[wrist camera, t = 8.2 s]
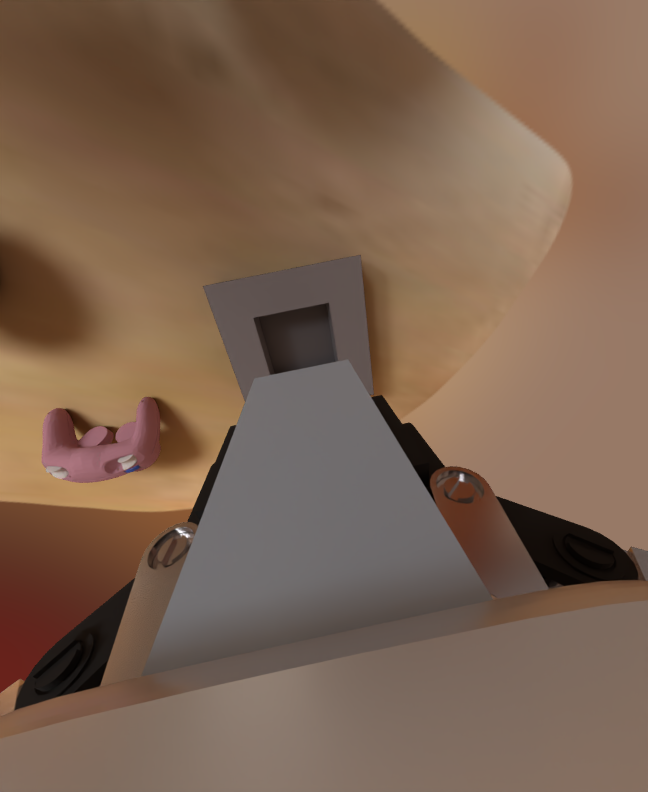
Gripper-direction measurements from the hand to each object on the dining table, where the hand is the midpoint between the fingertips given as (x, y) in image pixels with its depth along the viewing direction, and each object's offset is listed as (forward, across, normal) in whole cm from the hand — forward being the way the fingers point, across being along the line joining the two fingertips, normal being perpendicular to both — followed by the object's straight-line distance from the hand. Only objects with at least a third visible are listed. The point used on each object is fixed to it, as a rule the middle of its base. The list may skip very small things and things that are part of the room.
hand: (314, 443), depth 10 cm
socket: (+16, 0, 0) cm, 16 cm away
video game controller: (+16, +20, +5) cm, 27 cm away
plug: (+3, 0, 0) cm, 3 cm away
